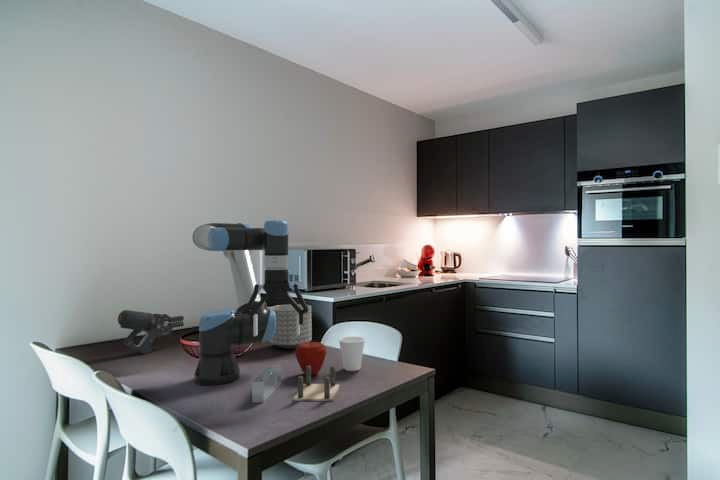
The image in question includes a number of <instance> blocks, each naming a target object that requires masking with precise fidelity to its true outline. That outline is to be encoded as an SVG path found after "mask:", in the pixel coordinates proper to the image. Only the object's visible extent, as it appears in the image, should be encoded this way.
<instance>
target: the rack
mask: <svg viewBox="0 0 720 480" xmlns="http://www.w3.org/2000/svg"><path fill="white" fill-rule="evenodd" d="M329 371H330V372H329V376H324V377H323V383H312V375H311V366H306V374H305V383H304V376H301V375H300V376H297V392H296V393H295V395H294V396H293V398H292V401H300V402H301V401H302V402H303V401H305V402H306V401H307V402H310V401H311V402H334V400H335V398H336V395H337V394H338V392H339V389H340V384H338V383H337V384H336V366H334V365H332V366H330V367H329Z"/></svg>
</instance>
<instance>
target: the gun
mask: <svg viewBox="0 0 720 480" xmlns="http://www.w3.org/2000/svg"><path fill="white" fill-rule="evenodd" d="M184 318H185V317H184V315H177V316H170V315H168V314H167V313H163V314H161V313H153V314H152V313H150V312H145V311H144V312H143V311H137V310H130V309H124V310H122V311H121V312H119V314H118V316H117V322H118V324H119V326H120V327H119V328H122V329H126V330H127V329H128V330H132V331H131V332H130V333H129V334H128V335H127V337H126V338H125V339H124V341H123V342H122V344H123V345H125V346H128V348H130V349H132V350H134V351H136V352H138V353H140V354H141V355H147V354H150V353H152V350H153V349H152V348H153V346H154V345H155V343H156V342H157V341H158V340H159V339H160V338H161V337H165V336H169V335H170V334H171V332H172V330H173V329H174V328H180V327H181V328H182V327H184V326H185V322H184ZM142 332H144V333H145V335H144V336H143V337H142V339H141V340H140V342H139V343H138V344H134V340H135V338H136V337H137V336H138V334H141V333H142Z"/></svg>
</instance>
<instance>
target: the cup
mask: <svg viewBox="0 0 720 480" xmlns="http://www.w3.org/2000/svg"><path fill="white" fill-rule="evenodd" d="M365 341H366V339H365V338H364V337H362V336H344V337H343V336H342V337H340V338H339V339H338V342H339V347H340V351H341V352H340V353H341V358H342V359H341V360H342V364H343V369H344V370H345V371H347V372H357V371H359V370H360V369H361V367H362V361H363V360H362V359H363V355H364V354H363V353H364V347H365Z"/></svg>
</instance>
